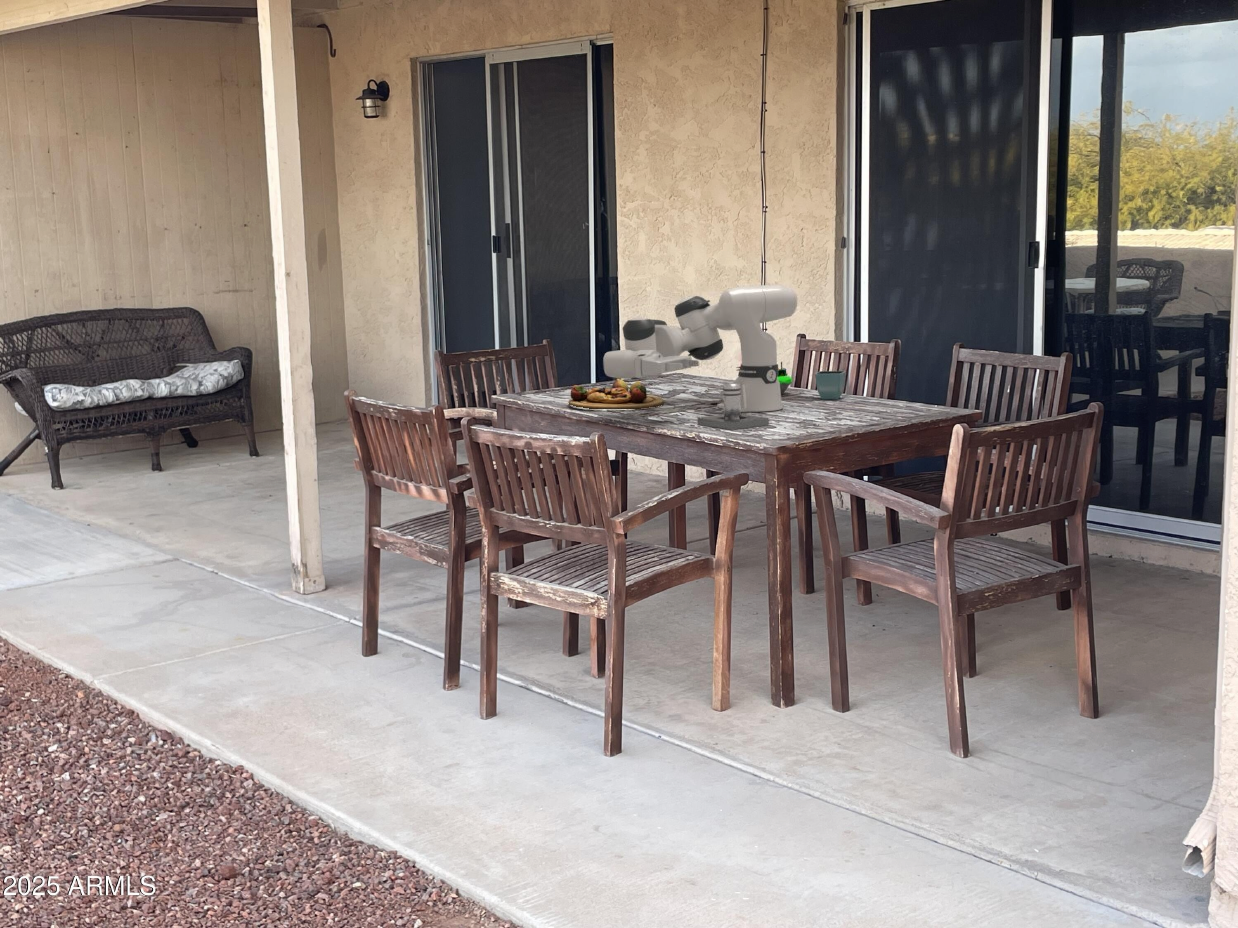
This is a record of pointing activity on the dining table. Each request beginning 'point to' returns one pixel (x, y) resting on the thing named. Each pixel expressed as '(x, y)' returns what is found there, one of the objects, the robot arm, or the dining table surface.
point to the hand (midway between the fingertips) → (690, 364)
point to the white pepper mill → (732, 401)
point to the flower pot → (830, 384)
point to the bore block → (733, 422)
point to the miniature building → (783, 379)
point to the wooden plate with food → (614, 397)
